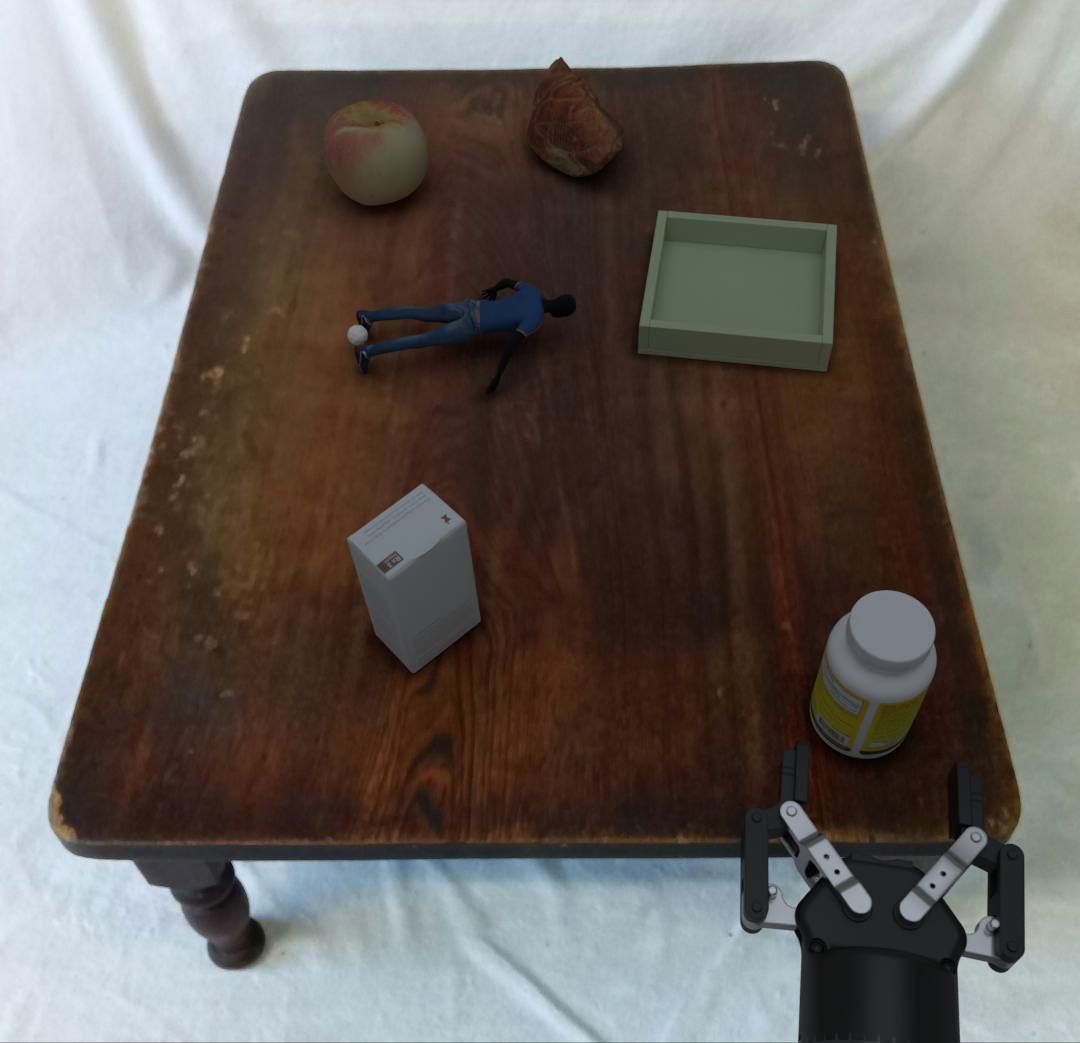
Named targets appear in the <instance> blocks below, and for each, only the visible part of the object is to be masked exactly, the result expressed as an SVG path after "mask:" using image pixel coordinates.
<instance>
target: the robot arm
mask: <svg viewBox="0 0 1080 1043" xmlns="http://www.w3.org/2000/svg"><path fill="white" fill-rule="evenodd" d="M795 740H796V741H795V743H794V745H793V746H794V747H793V748H786V749H785V751H784V753H783V754H782V758H781V761H780V764H779V768H778V770H779V771H778V789H777V792H778V793H777V803H776V804H775V805H774V806H771V807H766V808H761V807H759V806H753V807H750V808H749V809H747V810H746V812H745V815H744V819H743V820H744V821H743V825H742V826H741V830H740V857H739V858H740V860H739V862H740V867H739V868H740V869H739V870H740V873H739V874H740V875H739V877H740V878H739V880H740V881H739V882H740V884H739V888H740V889H739V911H740V912H739V924H740V927H741V928H742V930H743V931H744V932H745V933H747V934H751V935H755V934H758V933H760V932H761V931H762V929H770V930H778V931H779V930H780V931H791V932H794V935H795V936H796V938H797V941H798V943H799V948H800V979H799V1003H798V1004H799V1006H798V1007H799V1008H798V1031H797V1032H798V1033H797V1036H798V1037H797V1043H961V1023H960V1003H959V1002H960V999H959V996H960V995H959V994H960V993H959V973H958V972H959V971H958V969H959V963H960V960H961V958H965V959H969V960H970V959H971V960H974V961H975V960H976V961H979V962H984V963H986V964H987V965H988V967H989V968H990V969H991V970H992V971H994V972H996V973H998V974H1004V973H1007V972H1008V971H1009V970H1011V969H1012V967H1013V966H1015V964H1017V963H1018V961H1020V959H1022V958H1023V956H1024V954H1025V952H1026V915H1025V914H1026V908H1025V907H1026V905H1025V904H1026V901H1025V899H1026V897H1025V895H1026V893H1025V892H1026V891H1025V888H1026V887H1025V886H1026V885H1025V884H1026V883H1025V882H1026V881H1025V874H1026V873H1025V853H1024V851H1023V849H1022V848H1021V847H1020V846H1018V845H1017V844H1015V843H1005V844H1004V843H1003V842H1000V841H999V840H997V839H994V838H993V837H991V836H990V834H988V832H987V830H986V827H985V812H984V795H983V783H982V781H981V779H980V777H979V775H978V774H973V773H971V765H970V763H967V762H966V763H965V762H959V761H955V762H954V763H953V765H952V766H951V768H950V770H949V771H948V774H947V781H946V785H947V814H948V815H947V816H948V839H949V840H954V842H953V843H952V845H951V846H950V847H949V848H948V850H946V851H945V852H943V854H942V855H941V856H940V857H939V859H938V860H936V862H935V863H934V864H933V865H932V866H931V867H930V869H929V870H928V871H927V872H924V871H923V870H921V868H919V867H917V866H915V865H914V861H913V860H907V859H906V860H905V859H899V858H896V859H887V860H881V859H878V858H876V857H874V856H871V855H869V854H864V853H857V852H851V853H850V855H849V856H844V857H843V856H842V857H841V856H840V854H839V853H838V852H837V850H836V849H835V847H834V846H833V844H832V843H831V842H830V840H829V839H828V837H827V836H826V835H825V834H824V833H822V832H820V831H819V830H818V829H817V827H816V825H815V824H814V823H813V822H812V820H811V819H810V817H809V816H808V814H807V813H806V812H805V810H806V807H807V804H808V801H809V777H810V776H809V775H810V774H809V773H810V750H811V749H810V748H811V743H810V741H808V740H801V739H795ZM773 839H779V840H780V841H781V843H782V844H783V846H784V847H785V849H786V851H787V852H788V853H789V855H790V856H791V857H792V860H793V861H794V865H795V868H796V871H797V872H798V873H799V875H800V876H801V878H802V879H803V881H804V883H805V884H806V885H807V887H808V888H809V891H807V893H806V894H805V895H804V896H803V897H802V898H801V899H800V901H799V902H798V903H797V905H796V907H794V906H792V905H790V904H788V903H787V902H786V900H785V899H784V895H783V894H784V893H783V891H782V889H781V888H780V887H779V885H777V884H776V883H773V882H772V883H771V882H770V879H769V877H770V876H769V875H770V873H769V872H770V870H769V840H773ZM971 866H974V868H975V867H976V868H978V869H979V870H981V871H984V872H986V873H987V888H986V890H987V893H986V894H987V895H986V896H987V900H986V901H987V902H986V903H987V904H986V905H987V906H986V916H983V917H982V918H981V919H980V920H979V922H977V924H976V925H975V927H974V931H973V932H972V933H967V932H966V930H965V927H964V926H963V923H961V921H960V920H959V918H958V917H957V916H956V914H955V913H954V911H953V910H952V909H951V908H950V906H949V905H948V903H947V902H946V900H945V896H947V894H948V893H949V892H950V891H951V890H952V888H953V887H954V886H955V884H956V883H957V882H958V881H959V880H960V879H961V877H963V875H964V874H965V873H966V872H967V871H968V869H969V868H970V867H971Z"/></svg>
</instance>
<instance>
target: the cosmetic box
mask: <svg viewBox="0 0 1080 1043" xmlns="http://www.w3.org/2000/svg"><path fill="white" fill-rule="evenodd" d="M346 541H347V545H348V548H349V552H350V556H351V559H352V562H353V565H354V568H355V571H356V573H357V574H356V575H357V577H358V581H359V584H360V587H361V591H362V594H363V597H364V602H365V605H366V608H367V610H368V613H369V617H370V621H371V624H372V627H373V631H374V634H375V635H376V637H377V638H378V639H379V640H380V641H381V642H382V643H383V644H384V645H385V646H386V647H387V648H388V649H389V650H390V651H391V652H392V653H393V654H394V655H395V656H396V658H397V659H399V661H400V662H401V663H402V664H403V665H404V666H405V668H407V670H408V671H410V673H412V674H415V673H418V671H420V670H421V669H422V668H424V667H425V666H426V665H427V664H429V663H430V662H431V661H432V660H434V659H435V658H436V657H438V656H439V655H440V654H441V653H443V652H444V651H445V650H446V649H447V648H449V647H450V646H452V645H453V644H454V643H455V642H456V641H458V640H459V639H461V638H462V637H463V636H464V635H465V634H467V633H468V632H470V631H471V630H472V629H473V628H474V627H476V626H477V625H479V623H480V622H481V621H482V617H481V612H480V605H479V597H478V591H477V590H478V589H477V586H476V585H477V583H476V577H475V571H474V563H473V559H472V558H473V557H472V552H471V544H470V538H469V532H468V524H467V521H466V520H465V519H464V518H463V517H462V516H461V515H459V514H458V513H457V512H456V511H455V510H454V509H453V508H451V506H449V504H447V503H446V502H445V501H444V500H442V498H440V497H439V496H438V495H437V494H436V493H435V492H434V491H432V490H431V489H430V488H429V487H428V486H427V485H425V484H424V483H421V484H419V485H417V487H415V488H414V489H413V490H411V491H410V492H409V493H407V494H406V495H404V496H403V497H402V498H400V499H399V500H398V501H396V502H394V503H393V504H392V505H391V506H389V507H388V508H386V509H385V510H383V512H381V513H380V514H378V515H377V516H376V517H374V518H373V519H371V520H370V521H369V522H367V523H366V524H365V525H363V526H362V527H361V528H359V529H358V530H356V531H355V532H354V533H352V534H351V535H349V536H348V537H347V538H346Z"/></svg>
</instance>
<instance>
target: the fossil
mask: <svg viewBox="0 0 1080 1043" xmlns="http://www.w3.org/2000/svg"><path fill="white" fill-rule="evenodd" d="M625 132H626V131H625V128H624V126H623V125H622V123H620V122H618V121H617V120H616V119H615V118H613V116H612V115H611V114H610V113H609V112H608V111H607V110H606V109H604V108H603V107H601V105H600V101H599V99H598V96H597V94H596V93H595V92H594V90H593V89H592V88H591V87H590V85H589V84H588V81H587V80H585V78H584V76H583V75H581V74H578V73H575V71H573V70H572V69H571V67H570V66H569V65H568V63H567V62H566V61H565V60H564V58H563V57H562V56H559V58H557V59H555V60H554V61H552V63H551V64H550V65H549V67H548V69H547V70H546V71H545V73H544V74H543V76H542V78H541V80H540V81H539V84H538V86H537V88H536V90H535V94H534V98H533V109H532V113H531V116H530V119H529V123H528V124H527V130H526V134H525V135H526V141H527V143H528V146H529V147H530V149H532V150H533V151H534V153H535V154H536V155H537V156H538V157H539V158H540V159H541V160H543V161H544V162H545V163H547V164H548V165H549V166H551V167H553V168H554V169H556V170H557V171H559V172H560V173H564V174H565V175H567V176H570V177H573V178H584V177H589V176H592V175H595V174H597V173H598V172H600V171H601V170H602V169H603V168H604V167H605V166H606V165H607V164H608V163H609V162H610V161H612V159H613V158H614V157H615V155H616V154H617V153H619V152H620V151H621V150H622V149H623V141H622V140H623V138H624V135H625Z"/></svg>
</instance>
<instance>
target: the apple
mask: <svg viewBox="0 0 1080 1043" xmlns="http://www.w3.org/2000/svg"><path fill="white" fill-rule="evenodd" d="M428 147H429V146H428V142H427V138H426V135H425V133H424V130H423V128H422V127H421V125H420V123H419V121H418V120H417V119H416V117H415V116H414V115H413V114H412V113H411V111H409V110H408V109H406V108H405V107H403V105H401V104H397V103H395V102H392V101H388V100H381V99H380V100H379V99H377V100H376V99H374V100H373V99H369V100H363V101H361V100H360V101H358V102H355V103H352V104H349V105H347V106H344V107H342V108H340V109H338V110H337V111H336V112H334V113H333V114H332V115H331V116H330V118H329V119H328V121H327V123H326V125H325V127H324V130H323V135H322V154H323V158H324V162H325V164H326V167H327V170H328V172H329V174H330V176H331V178H332V179H333V181H334V182H335V184H336V185H337V187H338V188H339V189H340V191H342V192H343V194H344V195H346V196H347V198H350V199H351V200H353V201H354V202H357V203H358V204H361V205H363V206H381V205H387V204H391V203H396V202H397V201H400V200H402V199H405V198H407V197H408V196H409V195H411V194H412V193H414V192H415V191H416V190H417V189H418V188H419V187H420V185H421V184H422V182H423V180H424V178H425V176H426V173H427V170H428V166H429V148H428Z"/></svg>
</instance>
